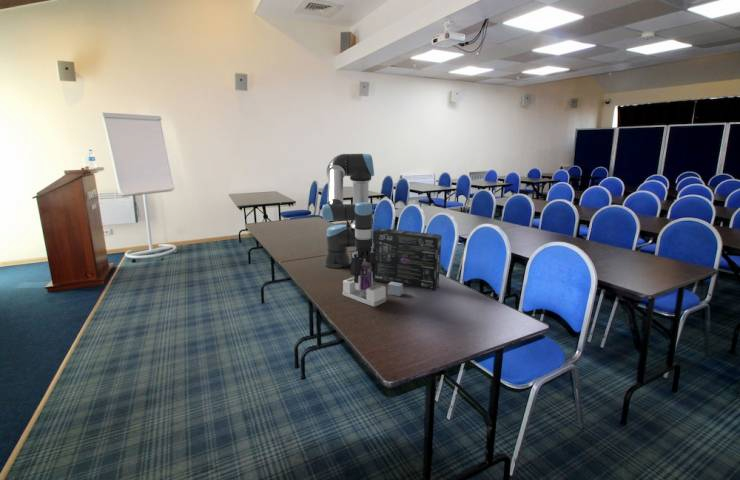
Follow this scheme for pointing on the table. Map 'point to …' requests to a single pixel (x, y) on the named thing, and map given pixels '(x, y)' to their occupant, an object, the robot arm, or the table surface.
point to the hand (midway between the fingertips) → (363, 286)
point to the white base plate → (363, 297)
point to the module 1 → (349, 285)
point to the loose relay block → (395, 288)
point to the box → (407, 258)
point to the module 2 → (375, 293)
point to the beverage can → (365, 275)
